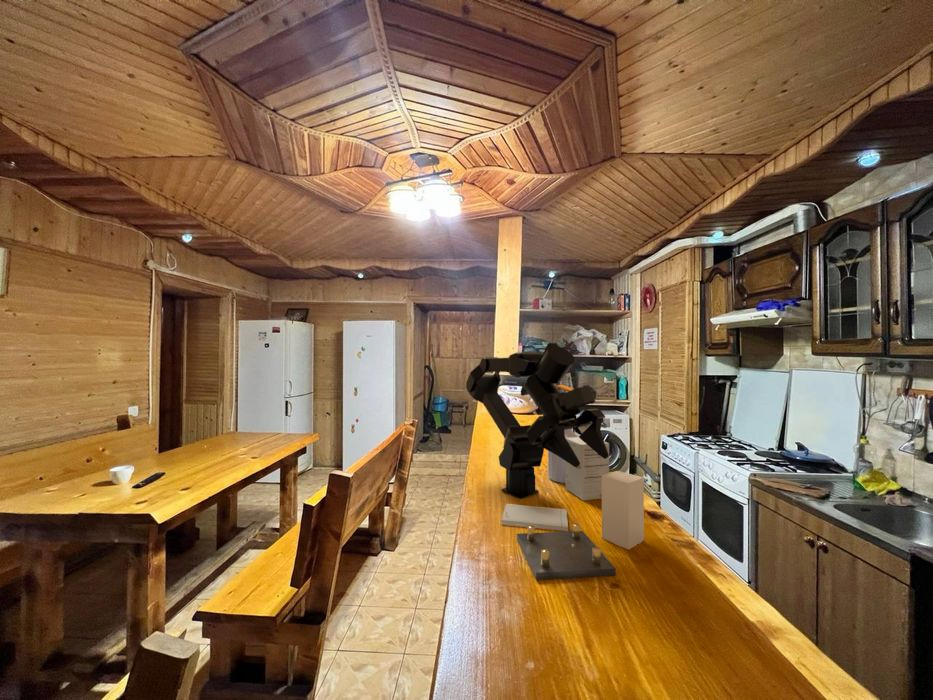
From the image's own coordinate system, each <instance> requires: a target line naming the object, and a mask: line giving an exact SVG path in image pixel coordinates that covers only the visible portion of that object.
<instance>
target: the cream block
mask: <svg viewBox="0 0 933 700" xmlns="http://www.w3.org/2000/svg"><path fill="white" fill-rule="evenodd" d="M644 478H645V477H643V476H639V475H635V474H631V473H629V472H624V471H620V470H615V471H612V472H609V473H608V474H605V475H602V498H601V539H603V540H605V541H607V542H610V543H612V544H615V545H616V546H617V545H618V546H619V547H622V548H624V549H627V550H631V549H633V548H634V547H636V546H638V545H639V544H641V543H643V542H645V536H644V535H645V525H644V524H645V519H644V518H645V514H644V512H645V510H644V509H645V505H644V504H645V503H644V501H645V499H644V492H645V491H644V489H645V488H644V487H645V486H644V485H645V483H644ZM642 541H643V542H642ZM637 544H638V545H637Z"/></svg>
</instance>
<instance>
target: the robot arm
mask: <svg viewBox="0 0 933 700" xmlns="http://www.w3.org/2000/svg"><path fill="white" fill-rule="evenodd" d="M574 363H575V356H574V355H573V354H572V353H571V352H570V351H569V350H567V349H565V348H564V347H561V346H559V345H558V343H557V342H548V343H547V344H546V346H545V348H544V351H543V353H541V352H524V351H523V352H518V351H517V352H514V353H511V354H510V355H509V356H508V357H497V356H492V357H491V356H490V357H489V356H486V357H483V358H481V360H480V362H479V364H478V365H477V366H476V367H474V368H473V369H472V370H471V371H470V373H469V375H468V377H467V380H466V384H465V388H466V390H467V392H468V394H469V395H470V396H471V398H472V399H473V400H475V401H477V402H479V403H481V404H483V406H484V407H485V409H486V411H487V412H488V414H489V416H490V417H491V419H492V420H493V421H494V424H495V425H496V427H497V428H498V430H499V431H500V433H501V434H502V436H503V438H504V439H503V447H502V448H503V449H502V451H501V452H500V454H499V455H498V461H499V466H500V467H502V468H503V469H505V487H503V488H501V489H500V490H501V492H503V493H505V494H507V495H510V496H512V497H514V498H518V499H520V500H521V499H524V498H527V497H530V496H531V497H532V496H534V495H536V494H537V495H538V494H539V493H540V491H539V489H536V475H535V468H536V467H541V464H542V461H543V456H544V452H545V450H546V451H547V452H548V451H550V452H552V453H553V454H555V455H557V456H558V457H560V458H562V459H563V460H565V461H567V462H568V463H570V464H571V465H573V466H574V467H578V466H579V465H580V462H579V460H578V458H577V456H576V455H575V453H574V451H573V450H572V448H571V446H570V445H569V443H568V441H567V440H566V438H565V433H564V430H567V429H572V430H573V432H574V433H576V434H577V435H578V436H579V438H580V439H581V440H582V441H584V442H585V443H586V444H587V445H588V446H589V447H591V448H592V449H593V450H594V451H595V452H596V453H597V454H599V455H600V456H601V457H603V458H604V459H606V458H608V457H609V458H610V453H609V454H608V451H607V449H606V446H605V443H604V442H605V440H604V438H603V435H602V431H601V430H602V429H601V427H602V424H603V423H604V419H606V415H605V414H604V413H603V411H602V410H601V409H600V408H589V409H585V410H584V411H582V410H583V409H582V408H583V407H584V406H588V405H590V404H591V405H593V404H595V403H596V398H597V391H596V390H594V387H593V386H590V385H589V384H585V385H582V386H579V387H576V388H573V390H571V391H569V392H568V391H564V392H563V391H562V392H561V391H560V390H559V388H558V387H557V386H556V384H557V385H558V384H560V383H561V382H562V381H563V380H564V377H565V376H566V375H567V373H568V372H569V370H570V369H571V368H572V366H573V365H574ZM501 372H503V373H508V374H509V375H510V376H512V377H514V378H517V379H520V378H522V379H523V378H524V379H525V378H527V379H526V381H525V382H523V383H521V388H520V396H527V395H528V396H529V397H530V399H531V400H532V401H533V402H534V404H535V406H536V407H537V409H536V410H535V413H536V414H537V416H538V417H537V418H536V419H535V420H534V422H532V424H531V425H530V424H529V425H528V424H527V425H521V424H520V423H519V421H518V420H517V418H516V417H515V415H514V414H513V412H511V410H510V408H509V407H508V406H507V404H506V403H505V401H504V400H503V399H502V397H501V396H500V394H499V391H498V390H499V385H500V384H501V382H502V381H501V379H502V378H501V376H500V373H501ZM486 373H493V375H492V374H487V375H486ZM577 415H579V416H578V417H577Z"/></svg>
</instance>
